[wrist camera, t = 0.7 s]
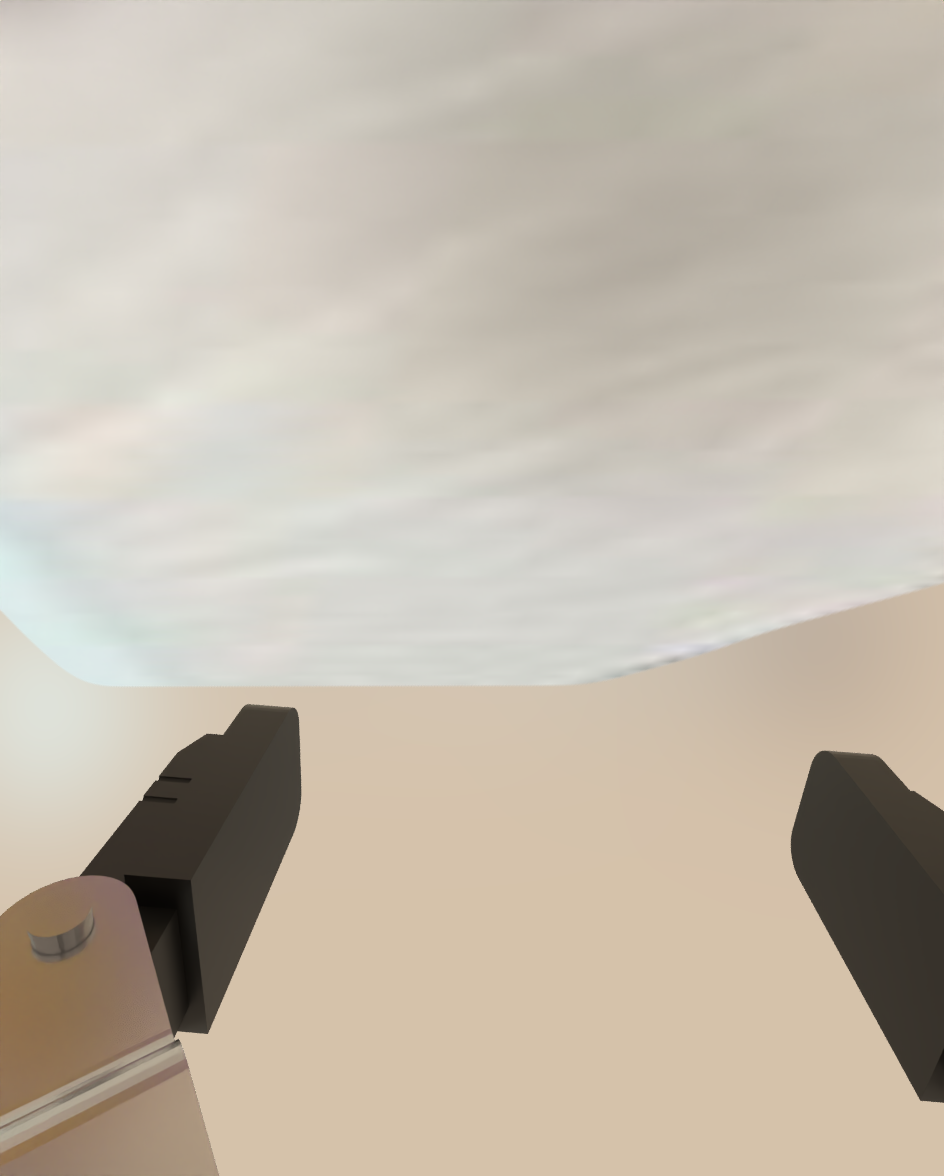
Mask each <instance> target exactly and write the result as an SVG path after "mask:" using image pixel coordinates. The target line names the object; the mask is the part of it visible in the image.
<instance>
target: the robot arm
mask: <svg viewBox="0 0 944 1176" xmlns="http://www.w3.org/2000/svg"><path fill="white" fill-rule="evenodd" d="M300 804H301V767H300V736H299V717H298V713H297V710H296V709H295V708H289V707H277V706H264V705H251V704H247V705H245V706H244V707H243V708H242V709H241V711H240V712H239V714H238V715H237V716H236V718H235V719H234V721H233V722H232V723H231V725H230V726H229V728H228V729H227V730H226V732H225V733H224V735H217V734H206V735H204V736H203V737H201V738H200V739H198V740H196V741H195V742H193V743H192V744H190V745H189V746H187V747H186V748H184V749H182V750H181V751H179V752H178V753H177V754H176V755H175V757H174V758H173V759H172V760H171V762H170V763H169V764H168V765H167V767H166V768H165V769H164V770H163V772H162V773H161V774H160V776H159V780H158V781H155V782H154V783H153V784H152V786H151V787H150V788H149V789H148V791H147V792H146V793H145V794H144V798H143V801H139V802H138V803H137V805H136V806H135V807H134V808H133V810H132V811H131V812H130V813H129V815H128V816H127V817H126V819H125V820H124V821H123V822H122V823H121V825H120V826H119V827H118V828H117V830H116V831H115V832H114V834H113V835H112V836H111V837H110V839H109V840H108V841H107V842H106V844H105V845H104V846H103V847H102V849H101V850H100V851H99V852H98V854H97V855H96V856H95V857H94V859H93V860H92V861H91V863H90V864H89V865H88V866H87V868H86V869H85V870H84V871H83V873H82V874H81V875H80V876H79V877H74V878H69V879H65V880H62V881H58V882H55V883H52V884H50V885H47V886H45V887H42V888H40V889H38V890H36V891H34V892H33V893H30V894H29V895H27V896H26V897H24V898H22V899H21V900H19V901H18V902H16V903H15V904H14V905H13V906H11V907H10V908H9V909H7V911H5V912H4V913H3V914H2V915H1V916H0V1176H219V1174H218V1170H217V1166H216V1163H215V1159H214V1156H213V1152H212V1148H211V1145H210V1141H209V1138H208V1134H207V1131H206V1128H205V1124H204V1120H203V1116H202V1113H201V1109H200V1106H199V1102H198V1099H197V1095H196V1091H195V1088H194V1084H193V1081H192V1077H191V1074H190V1070H189V1067H188V1063H187V1060H186V1057H185V1053H184V1050H183V1048H182V1045H181V1043H180V1041H179V1039H178V1040H176V1041H175V1040H174V1037H175V1035H176V1033H177V1031H182V1032H193V1033H204V1034H208V1032H209V1030H210V1028H211V1025H212V1023H213V1021H214V1018H215V1016H216V1014H217V1011H218V1009H219V1007H220V1004H221V1002H222V999H223V997H224V995H225V992H226V990H227V988H228V985H229V983H230V981H231V978H232V976H233V974H234V971H235V969H236V967H237V964H238V962H239V960H240V957H241V955H242V953H243V950H244V948H245V946H246V943H247V941H248V939H249V936H250V934H251V932H252V929H253V927H254V925H255V922H256V920H257V918H258V915H259V913H260V911H261V908H262V906H263V904H264V901H265V899H266V897H267V894H268V892H269V890H270V887H271V885H272V882H273V880H274V878H275V876H276V873H277V871H278V869H279V866H280V864H281V862H282V859H283V857H284V855H285V852H286V850H287V847H288V845H289V843H290V840H291V838H292V836H293V833H294V831H295V828H296V824H297V820H298V816H299V810H300ZM791 854H792V860H793V865H794V868H795V871H796V874H797V876H798V878H799V880H800V882H801V883H802V885H803V887H804V889H805V891H806V893H807V894H808V896H809V898H810V900H811V902H812V903H813V905H814V907H815V909H816V911H817V913H818V914H819V916H820V918H821V920H822V922H823V924H824V925H825V927H826V929H827V931H828V932H829V935H830V936H831V938H832V940H833V941H834V944H835V945H836V947H837V949H838V951H839V953H840V955H841V956H842V958H843V960H844V962H845V964H846V966H847V967H848V969H849V971H850V973H851V974H852V976H853V978H854V980H855V982H856V984H857V986H858V987H859V989H860V991H861V993H862V995H863V997H864V998H865V1000H866V1002H867V1004H868V1005H869V1008H870V1009H871V1011H872V1013H873V1015H874V1017H875V1018H876V1020H877V1022H878V1024H879V1026H880V1028H881V1029H882V1031H883V1033H884V1035H885V1037H886V1038H887V1040H888V1042H889V1044H890V1046H891V1048H892V1050H893V1051H894V1053H895V1055H896V1057H897V1059H898V1060H899V1062H900V1064H901V1066H902V1068H903V1070H904V1071H905V1073H906V1075H907V1077H908V1079H909V1081H910V1082H911V1084H912V1086H913V1088H914V1090H915V1092H916V1093H917V1095H918V1097H919V1099H920V1100H921V1101H931V1102H943V1103H944V811H943V810H941V809H940V808H938V807H937V806H935V805H934V804H932V803H931V802H929V801H928V800H926V799H925V798H924V797H922V796H921V795H919V794H918V793H916V792H915V791H910V790H909V789H908V788H907V787H906V786H905V785H904V783H903V782H902V781H901V780H900V779H899V778H898V777H897V776H896V775H895V774H894V772H893V771H892V770H891V769H890V768H889V767H888V766H887V765H886V763H885V762H884V761H883V760H882V759H880V758H879V757H878V756H876V755H873V754H861V753H848V752H835V751H821V752H819V753H818V754H817V755H816V756H815V757H814V759H813V761H812V764H811V767H810V771H809V774H808V778H807V781H806V785H805V788H804V792H803V795H802V799H801V802H800V806H799V809H798V813H797V816H796V820H795V823H794V827H793V831H792V836H791Z"/></svg>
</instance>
